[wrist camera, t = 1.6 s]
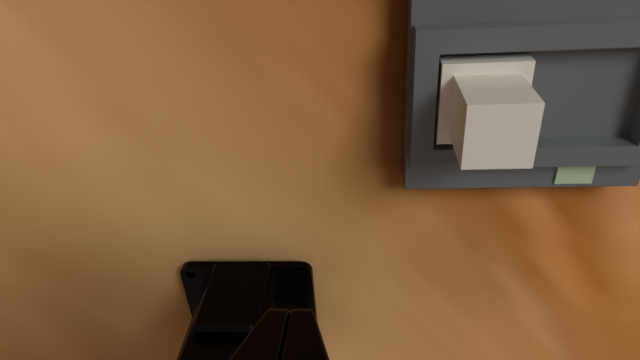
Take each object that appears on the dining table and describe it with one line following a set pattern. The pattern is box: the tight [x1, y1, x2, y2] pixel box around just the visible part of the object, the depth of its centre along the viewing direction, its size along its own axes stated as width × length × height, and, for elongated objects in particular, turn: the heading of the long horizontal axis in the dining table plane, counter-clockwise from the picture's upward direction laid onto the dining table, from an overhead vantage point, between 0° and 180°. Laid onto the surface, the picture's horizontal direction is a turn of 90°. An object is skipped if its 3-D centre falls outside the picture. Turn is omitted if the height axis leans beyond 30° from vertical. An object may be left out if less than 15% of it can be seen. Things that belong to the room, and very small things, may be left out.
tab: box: [434, 53, 545, 170], centre depth 16 cm, size 3×3×3 cm
